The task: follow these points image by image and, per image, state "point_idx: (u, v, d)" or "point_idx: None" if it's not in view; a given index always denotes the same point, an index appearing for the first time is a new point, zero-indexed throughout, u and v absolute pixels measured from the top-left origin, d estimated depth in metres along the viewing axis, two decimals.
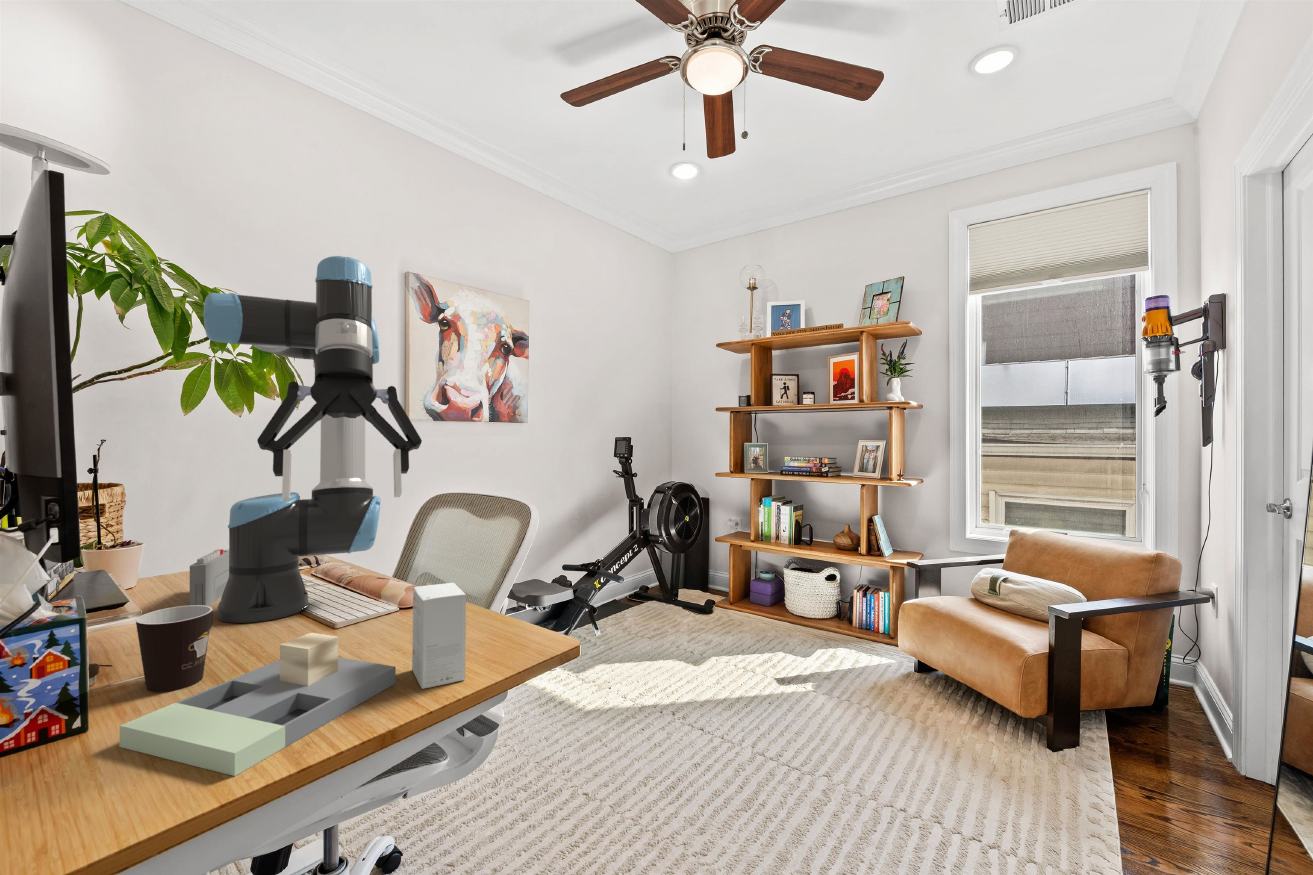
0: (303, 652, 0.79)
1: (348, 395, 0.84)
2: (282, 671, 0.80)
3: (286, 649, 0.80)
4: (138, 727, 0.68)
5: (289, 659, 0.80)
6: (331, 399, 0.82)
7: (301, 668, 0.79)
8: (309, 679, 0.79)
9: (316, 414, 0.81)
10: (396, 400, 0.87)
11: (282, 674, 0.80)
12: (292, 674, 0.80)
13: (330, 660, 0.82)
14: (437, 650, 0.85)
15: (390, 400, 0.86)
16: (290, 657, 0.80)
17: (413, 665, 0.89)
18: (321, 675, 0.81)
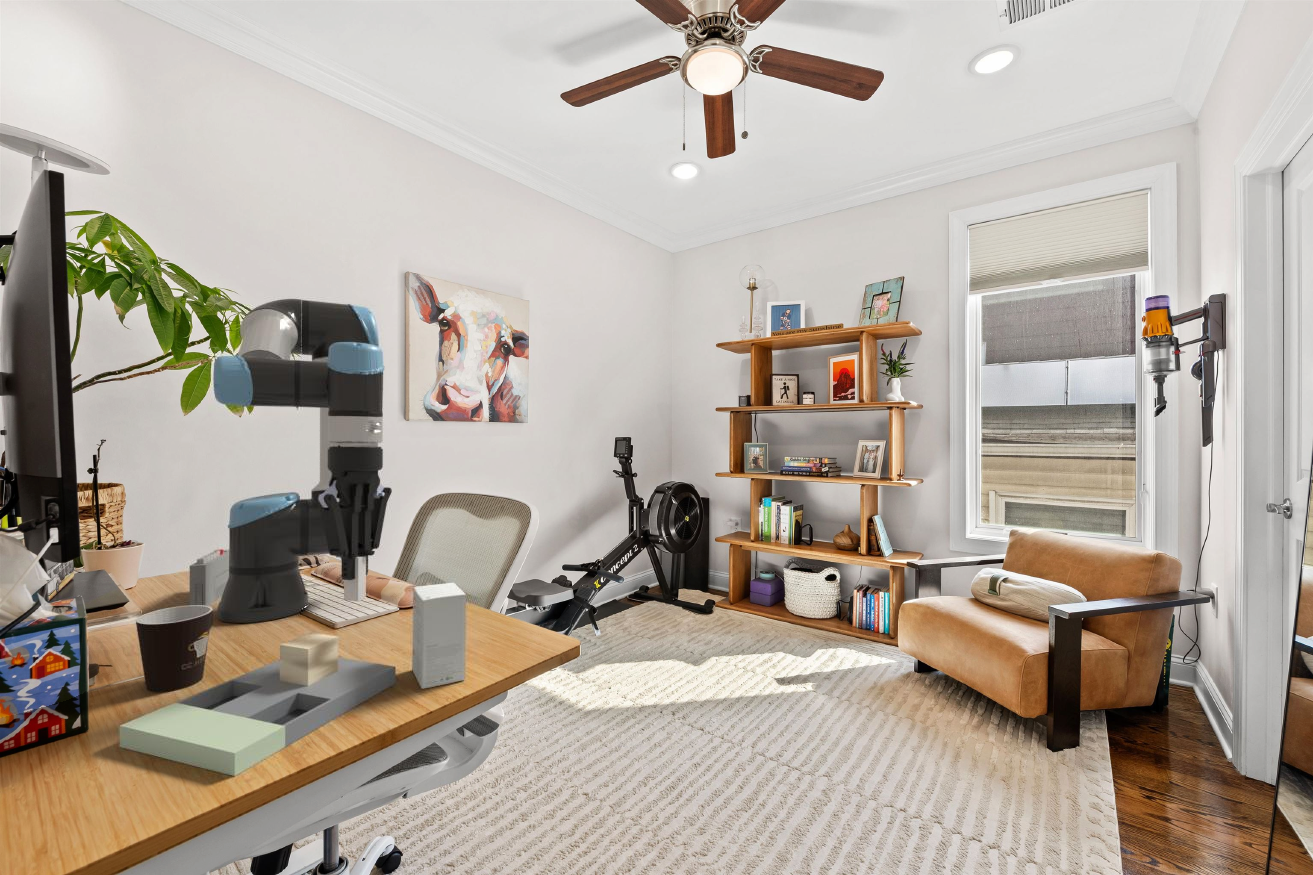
0: (303, 652, 0.79)
1: (364, 484, 0.89)
2: (282, 671, 0.80)
3: (286, 649, 0.80)
4: (138, 727, 0.68)
5: (289, 659, 0.80)
6: (360, 495, 0.88)
7: (301, 668, 0.79)
8: (309, 679, 0.79)
9: (357, 513, 0.88)
10: (386, 502, 0.94)
11: (282, 674, 0.80)
12: (292, 674, 0.80)
13: (330, 660, 0.82)
14: (437, 650, 0.85)
15: (383, 499, 0.93)
16: (290, 657, 0.80)
17: (413, 665, 0.89)
18: (321, 675, 0.81)
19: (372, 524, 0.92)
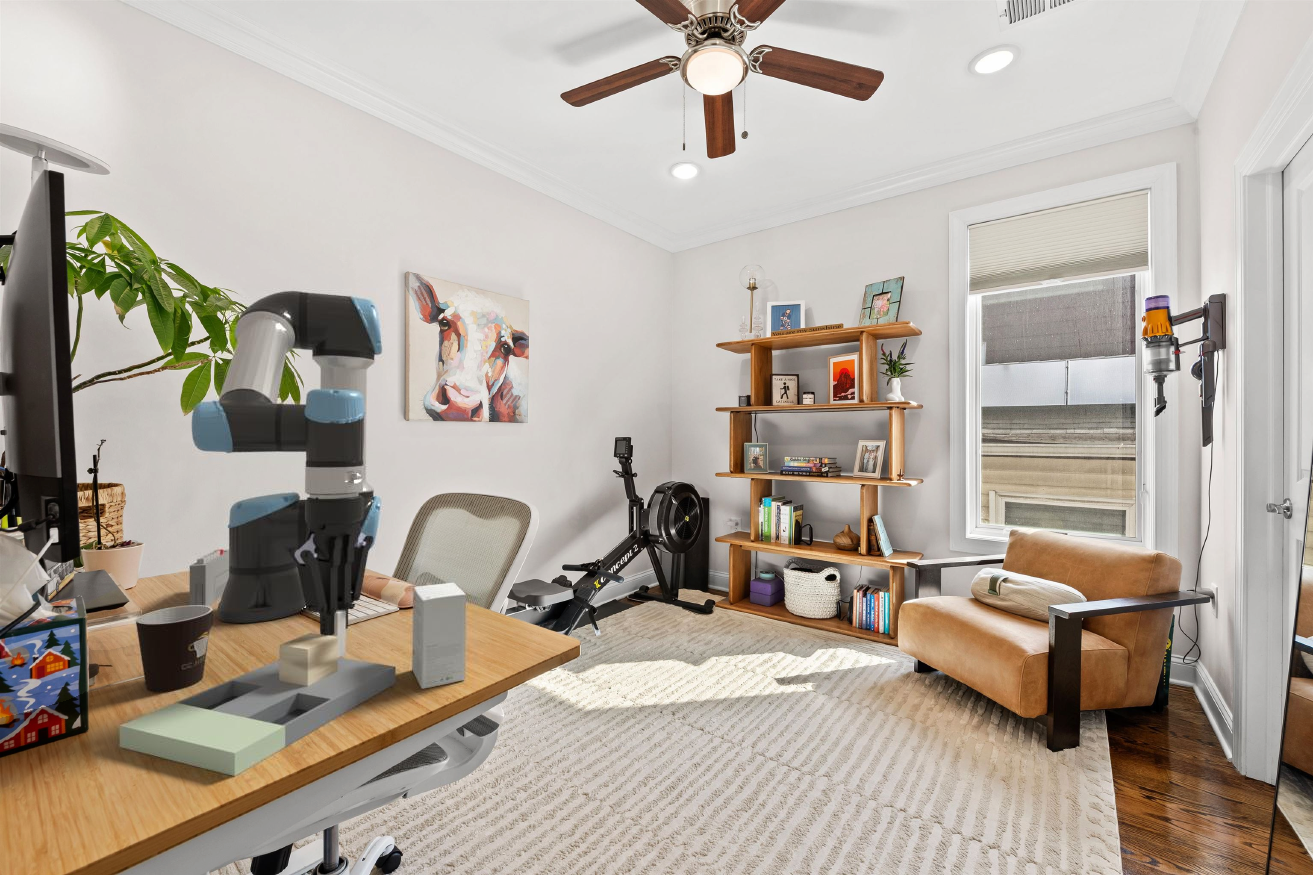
0: (303, 653, 0.79)
1: (344, 535, 0.86)
2: (282, 671, 0.80)
3: (285, 649, 0.80)
4: (138, 727, 0.68)
5: (289, 659, 0.80)
6: (339, 547, 0.84)
7: (301, 669, 0.79)
8: (309, 679, 0.79)
9: (336, 566, 0.85)
10: (367, 551, 0.90)
11: (282, 675, 0.80)
12: (292, 674, 0.80)
13: (330, 660, 0.82)
14: (437, 650, 0.85)
15: (364, 548, 0.90)
16: (290, 657, 0.80)
17: (413, 665, 0.89)
18: (321, 675, 0.81)
19: (353, 575, 0.89)
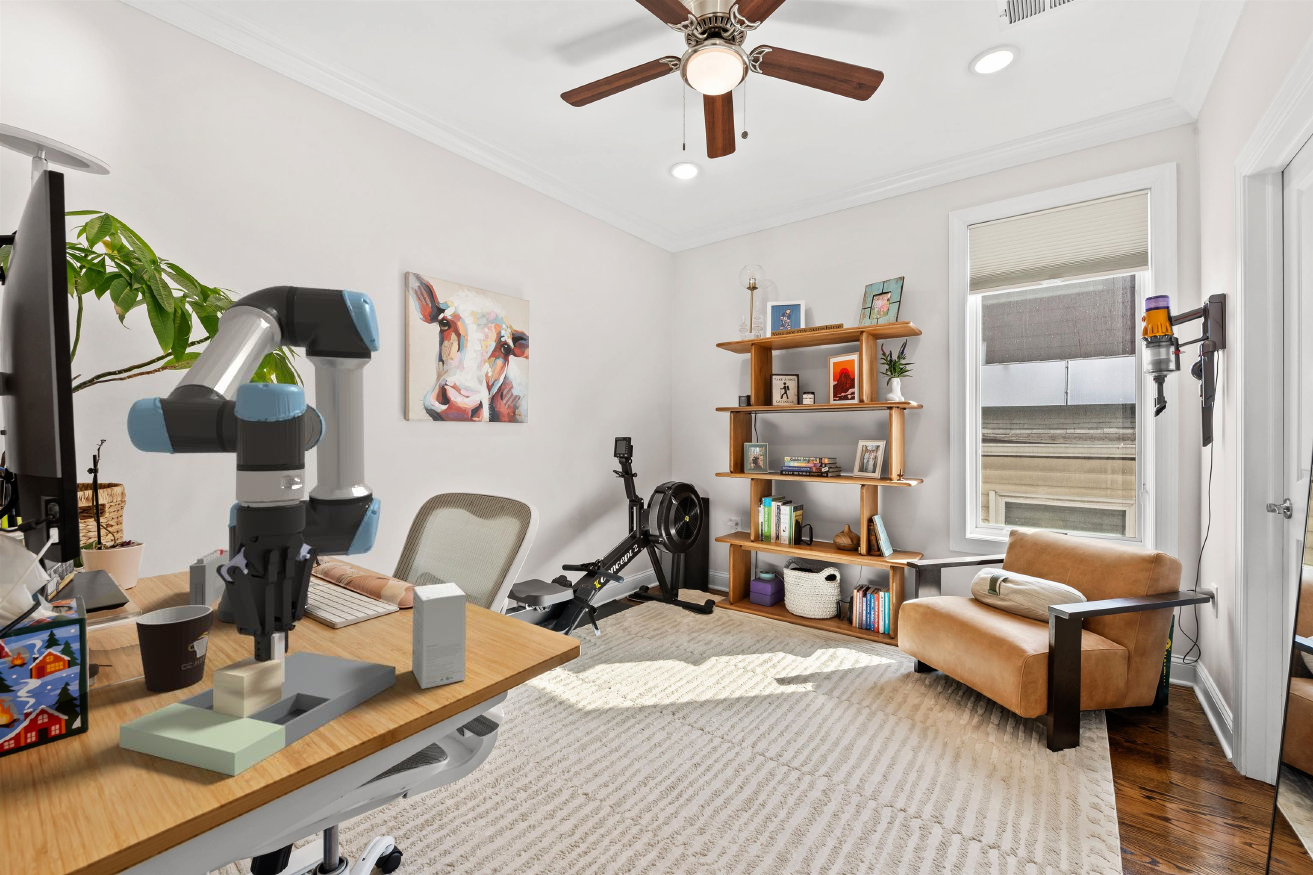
0: (239, 680, 0.70)
1: (282, 548, 0.76)
2: (216, 701, 0.71)
3: (220, 676, 0.71)
4: (138, 727, 0.68)
5: (223, 687, 0.71)
6: (276, 562, 0.75)
7: (237, 698, 0.70)
8: (245, 710, 0.70)
9: (273, 583, 0.75)
10: (311, 564, 0.81)
11: (216, 704, 0.71)
12: (227, 704, 0.71)
13: (272, 687, 0.74)
14: (437, 650, 0.85)
15: (307, 562, 0.80)
16: (225, 685, 0.71)
17: (413, 665, 0.89)
18: (260, 705, 0.72)
19: (294, 592, 0.79)
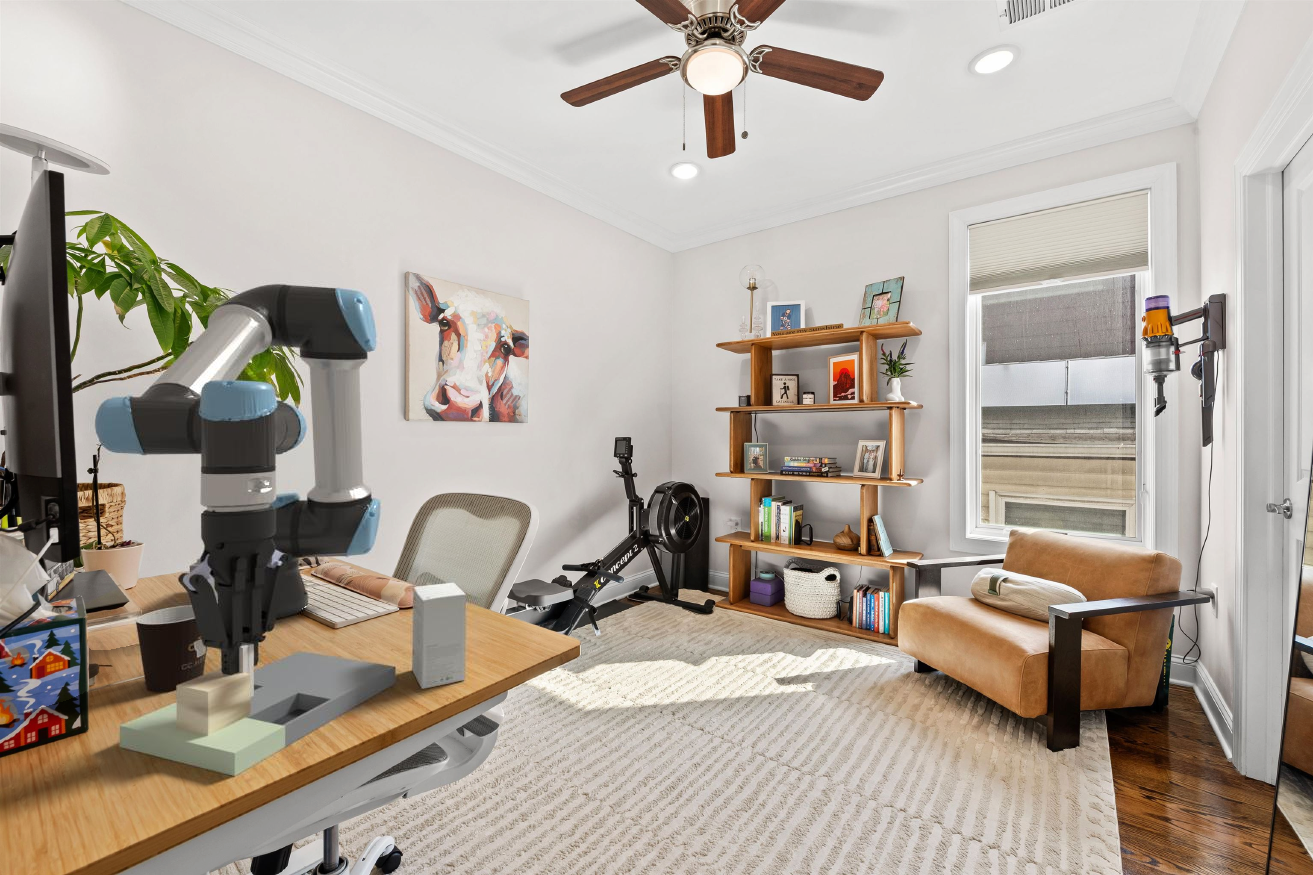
0: (202, 696, 0.66)
1: (251, 555, 0.72)
2: (179, 717, 0.67)
3: (183, 691, 0.67)
4: (138, 727, 0.68)
5: (187, 703, 0.67)
6: (244, 569, 0.71)
7: (201, 714, 0.66)
8: (210, 727, 0.66)
9: (241, 592, 0.71)
10: (284, 572, 0.76)
11: (179, 721, 0.67)
12: (190, 721, 0.67)
13: (239, 702, 0.70)
14: (437, 650, 0.85)
15: (279, 569, 0.76)
16: (188, 701, 0.67)
17: (413, 665, 0.89)
18: (227, 721, 0.68)
19: (265, 601, 0.75)
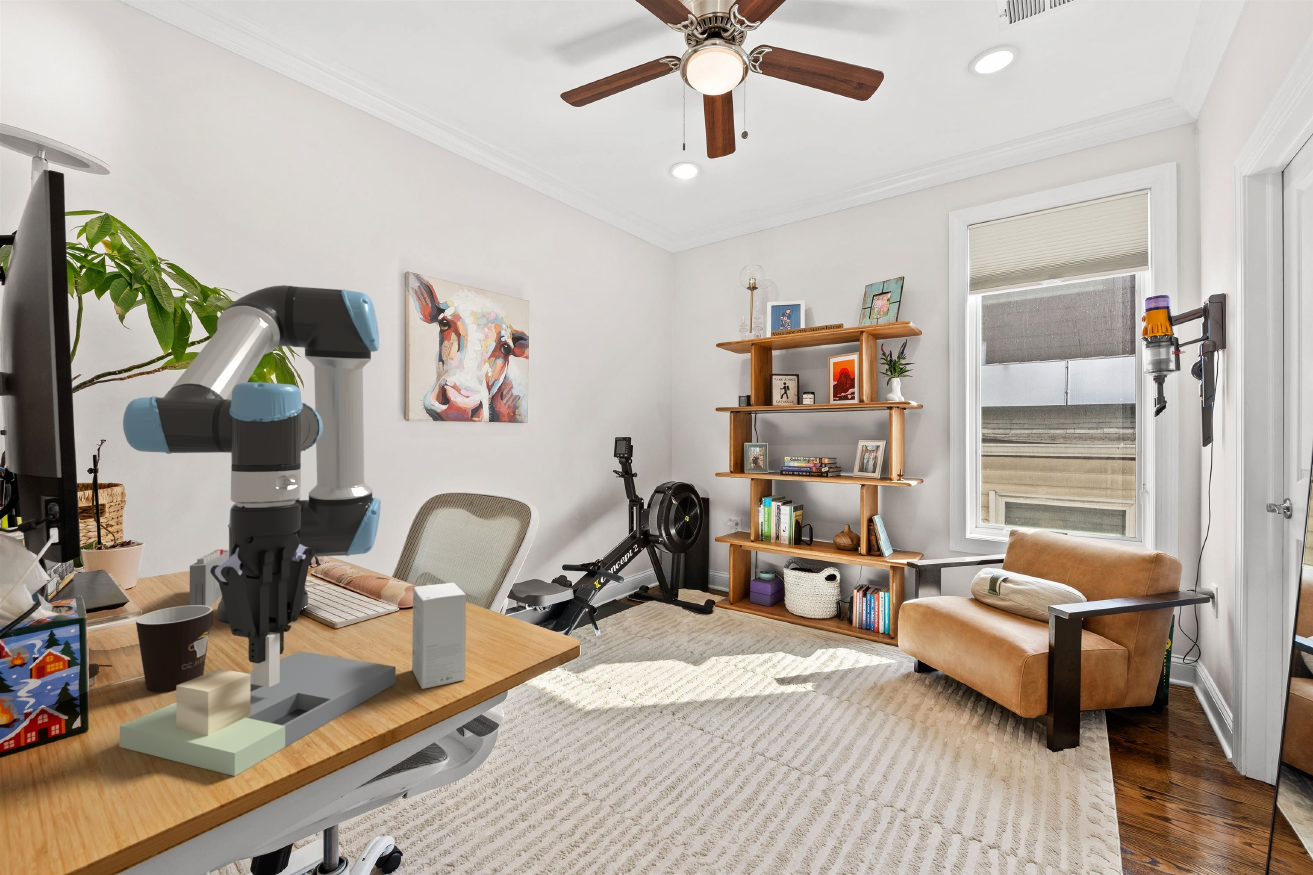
0: (203, 696, 0.66)
1: (277, 549, 0.76)
2: (179, 717, 0.67)
3: (183, 691, 0.67)
4: (138, 727, 0.68)
5: (187, 703, 0.67)
6: (271, 562, 0.74)
7: (201, 714, 0.66)
8: (210, 727, 0.66)
9: (268, 584, 0.74)
10: (307, 565, 0.80)
11: (179, 721, 0.67)
12: (190, 721, 0.67)
13: (239, 702, 0.70)
14: (437, 650, 0.85)
15: (303, 562, 0.79)
16: (188, 701, 0.67)
17: (413, 665, 0.89)
18: (227, 721, 0.68)
19: (290, 592, 0.79)
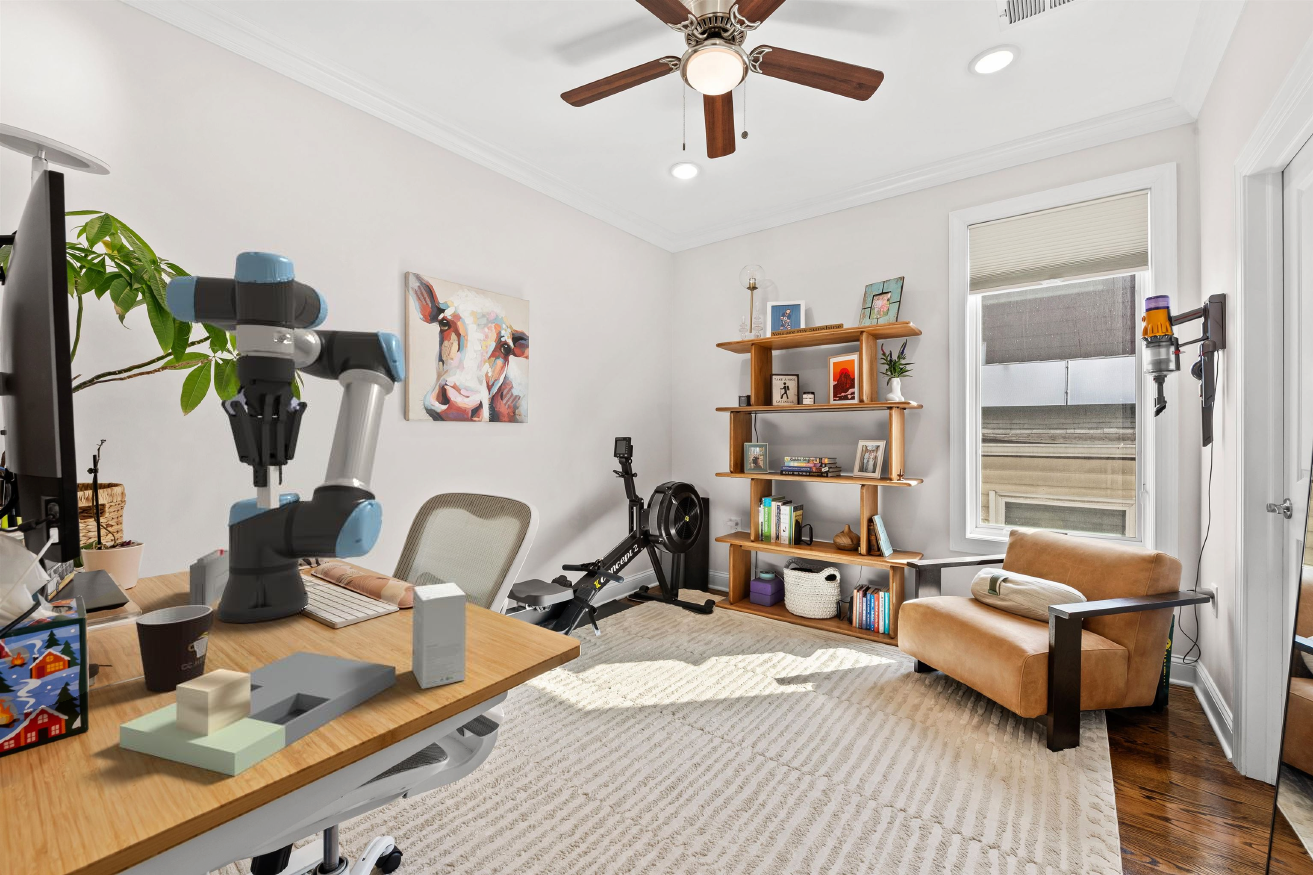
0: (203, 696, 0.66)
1: (275, 395, 0.91)
2: (179, 717, 0.67)
3: (183, 691, 0.67)
4: (138, 727, 0.68)
5: (187, 703, 0.67)
6: (271, 404, 0.89)
7: (201, 714, 0.66)
8: (210, 727, 0.66)
9: (268, 422, 0.90)
10: (301, 415, 0.95)
11: (179, 721, 0.67)
12: (190, 721, 0.67)
13: (239, 702, 0.70)
14: (437, 650, 0.85)
15: (297, 412, 0.95)
16: (188, 701, 0.67)
17: (413, 665, 0.89)
18: (227, 721, 0.68)
19: (286, 436, 0.94)
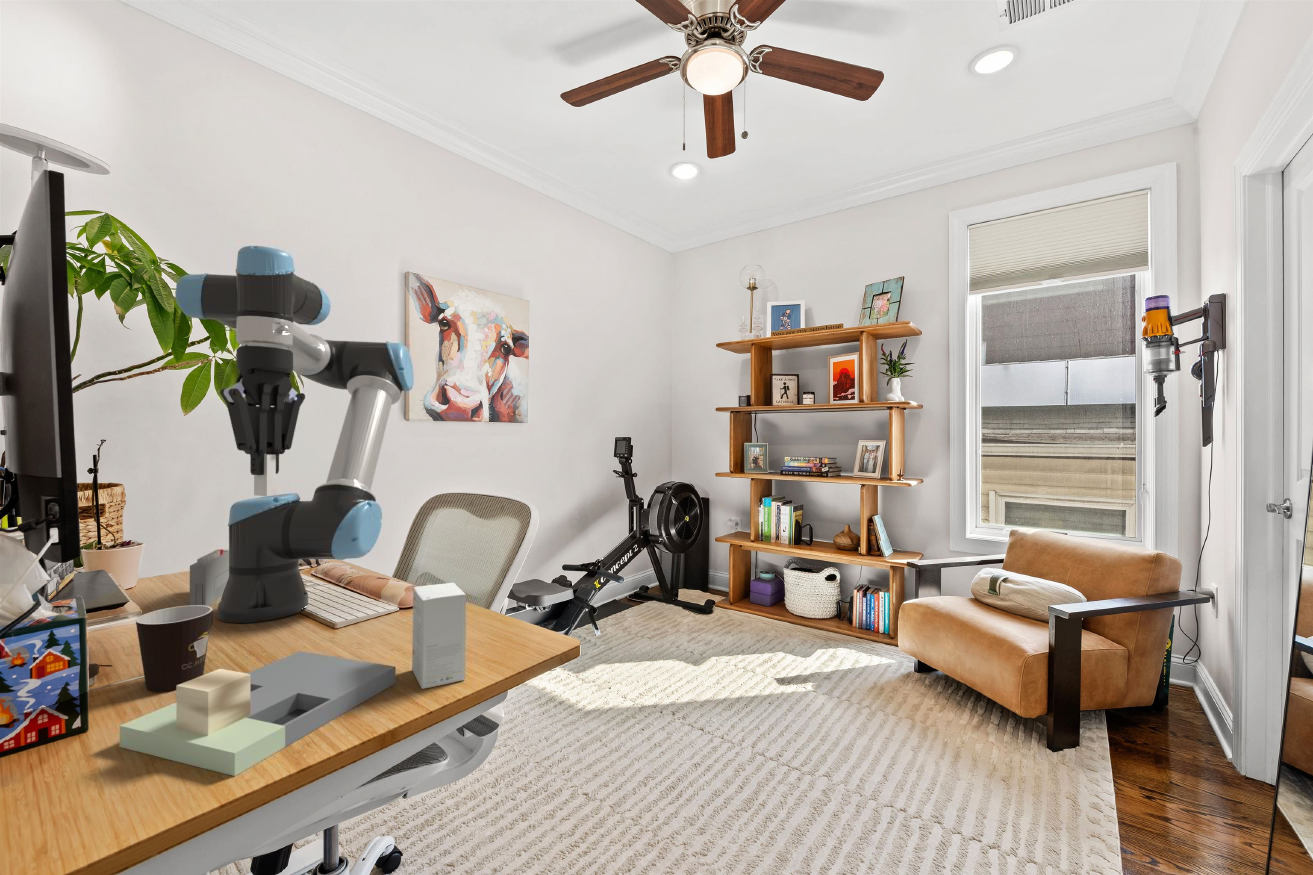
0: (203, 696, 0.66)
1: (274, 385, 0.93)
2: (179, 717, 0.67)
3: (183, 691, 0.67)
4: (138, 727, 0.68)
5: (187, 703, 0.67)
6: (269, 394, 0.92)
7: (201, 714, 0.66)
8: (210, 727, 0.66)
9: (266, 411, 0.92)
10: (298, 406, 0.98)
11: (179, 721, 0.67)
12: (190, 721, 0.67)
13: (239, 702, 0.70)
14: (437, 650, 0.85)
15: (295, 403, 0.97)
16: (188, 701, 0.67)
17: (413, 665, 0.89)
18: (227, 721, 0.68)
19: (284, 426, 0.96)
